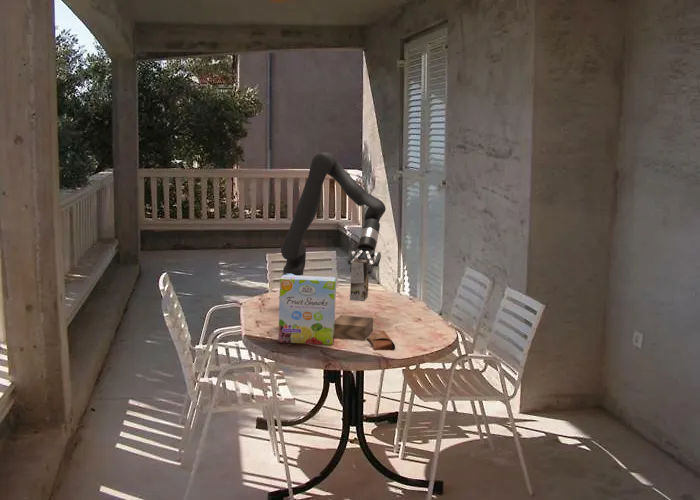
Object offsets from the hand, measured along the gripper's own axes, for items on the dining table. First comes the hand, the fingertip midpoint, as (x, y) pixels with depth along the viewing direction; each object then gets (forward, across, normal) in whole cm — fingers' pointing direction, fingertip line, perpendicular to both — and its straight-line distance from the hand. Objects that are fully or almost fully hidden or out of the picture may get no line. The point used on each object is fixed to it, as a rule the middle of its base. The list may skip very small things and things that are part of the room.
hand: (360, 272), depth 328 cm
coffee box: (+8, 0, +7) cm, 11 cm away
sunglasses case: (+31, +14, +5) cm, 34 cm away
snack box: (+35, -14, 0) cm, 38 cm away
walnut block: (+22, -1, +13) cm, 26 cm away
